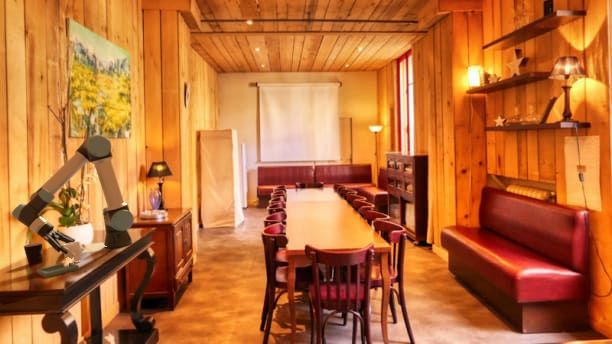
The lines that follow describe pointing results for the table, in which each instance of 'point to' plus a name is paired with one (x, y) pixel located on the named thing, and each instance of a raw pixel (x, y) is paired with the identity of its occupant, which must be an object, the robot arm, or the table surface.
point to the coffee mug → (34, 253)
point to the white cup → (73, 249)
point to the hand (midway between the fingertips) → (78, 253)
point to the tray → (57, 270)
